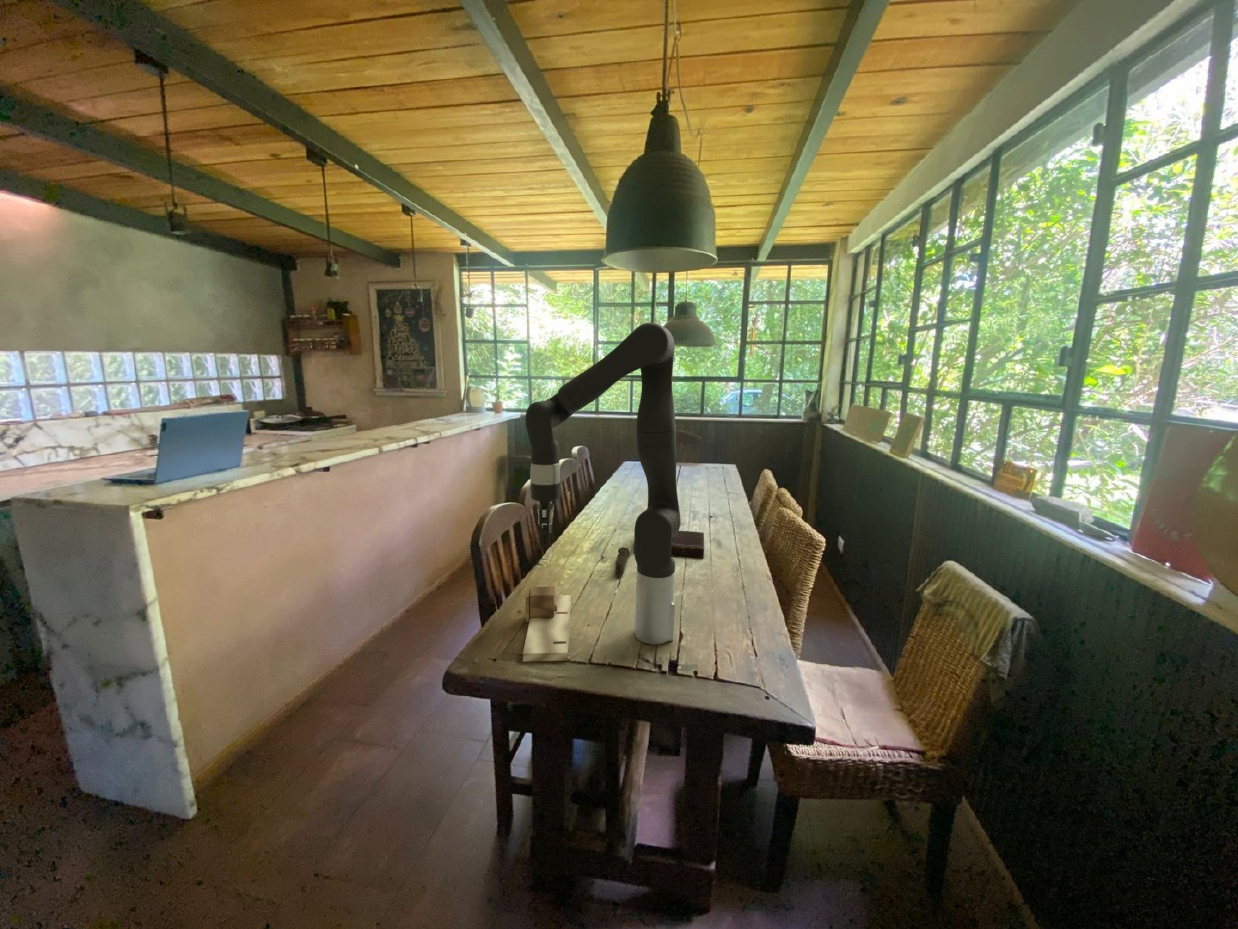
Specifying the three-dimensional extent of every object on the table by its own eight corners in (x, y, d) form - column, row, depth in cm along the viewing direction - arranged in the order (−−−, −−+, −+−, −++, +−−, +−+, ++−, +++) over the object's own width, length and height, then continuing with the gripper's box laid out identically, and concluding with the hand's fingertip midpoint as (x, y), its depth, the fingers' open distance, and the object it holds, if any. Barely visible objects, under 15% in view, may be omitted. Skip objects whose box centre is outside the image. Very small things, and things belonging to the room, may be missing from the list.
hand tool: (618, 557, 170) (618, 544, 169) (629, 557, 169) (629, 545, 168) (609, 579, 151) (609, 566, 151) (622, 580, 151) (622, 567, 150)
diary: (703, 561, 169) (704, 548, 168) (633, 555, 173) (633, 542, 172) (703, 542, 187) (703, 530, 186) (639, 537, 191) (640, 525, 190)
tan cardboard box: (557, 612, 128) (557, 586, 126) (556, 621, 123) (556, 595, 121) (528, 612, 127) (527, 586, 126) (525, 622, 122) (525, 595, 121)
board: (570, 601, 136) (570, 594, 135) (567, 660, 108) (567, 651, 108) (535, 602, 135) (535, 595, 134) (522, 661, 107) (522, 652, 107)
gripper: (559, 486, 114) (560, 551, 117) (561, 474, 128) (561, 532, 131) (527, 486, 114) (529, 551, 117) (532, 474, 127) (533, 532, 131)
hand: (546, 541), depth 124 cm, fingers open, 8 cm apart
